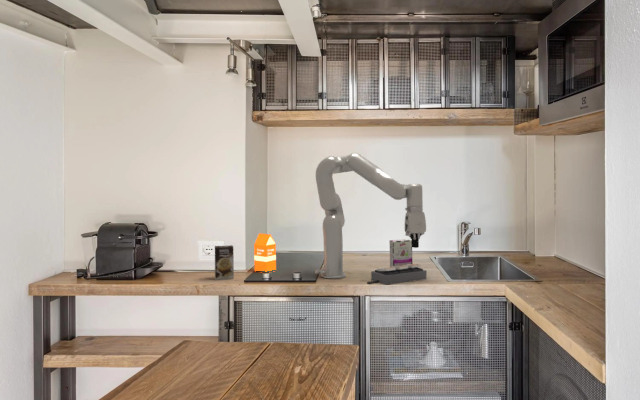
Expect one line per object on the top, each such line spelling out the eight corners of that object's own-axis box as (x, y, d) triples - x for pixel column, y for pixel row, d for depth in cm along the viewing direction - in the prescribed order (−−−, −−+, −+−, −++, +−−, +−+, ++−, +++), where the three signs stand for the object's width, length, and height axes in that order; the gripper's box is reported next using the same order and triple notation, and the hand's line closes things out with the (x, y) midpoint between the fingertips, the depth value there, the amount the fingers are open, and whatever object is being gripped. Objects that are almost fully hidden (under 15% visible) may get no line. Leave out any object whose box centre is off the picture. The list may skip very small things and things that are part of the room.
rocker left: (387, 271, 207) (386, 268, 207) (377, 271, 214) (376, 268, 214) (395, 269, 209) (395, 267, 210) (385, 270, 216) (385, 267, 217)
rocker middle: (399, 269, 211) (399, 266, 211) (389, 269, 218) (389, 266, 218) (408, 268, 213) (408, 265, 213) (398, 268, 220) (397, 265, 220)
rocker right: (412, 267, 214) (412, 264, 214) (402, 267, 221) (401, 265, 221) (420, 266, 216) (420, 263, 216) (410, 266, 223) (409, 264, 224)
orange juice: (266, 273, 233) (265, 235, 232) (254, 271, 238) (253, 234, 237) (276, 270, 239) (275, 233, 238) (264, 268, 244) (263, 232, 243)
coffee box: (215, 280, 218) (214, 247, 217) (214, 277, 224) (214, 245, 223) (234, 279, 220) (233, 246, 220) (233, 276, 227) (232, 244, 226)
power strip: (374, 286, 202) (374, 276, 201) (360, 281, 212) (359, 271, 212) (426, 278, 216) (426, 269, 216) (410, 274, 226) (410, 264, 226)
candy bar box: (408, 269, 239) (408, 238, 238) (412, 271, 234) (412, 240, 233) (389, 270, 236) (389, 239, 235) (393, 272, 231) (393, 241, 230)
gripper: (407, 210, 208) (407, 249, 209) (431, 209, 215) (432, 246, 216) (397, 210, 214) (398, 247, 215) (421, 208, 221) (422, 245, 222)
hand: (415, 247), depth 215 cm, fingers closed
